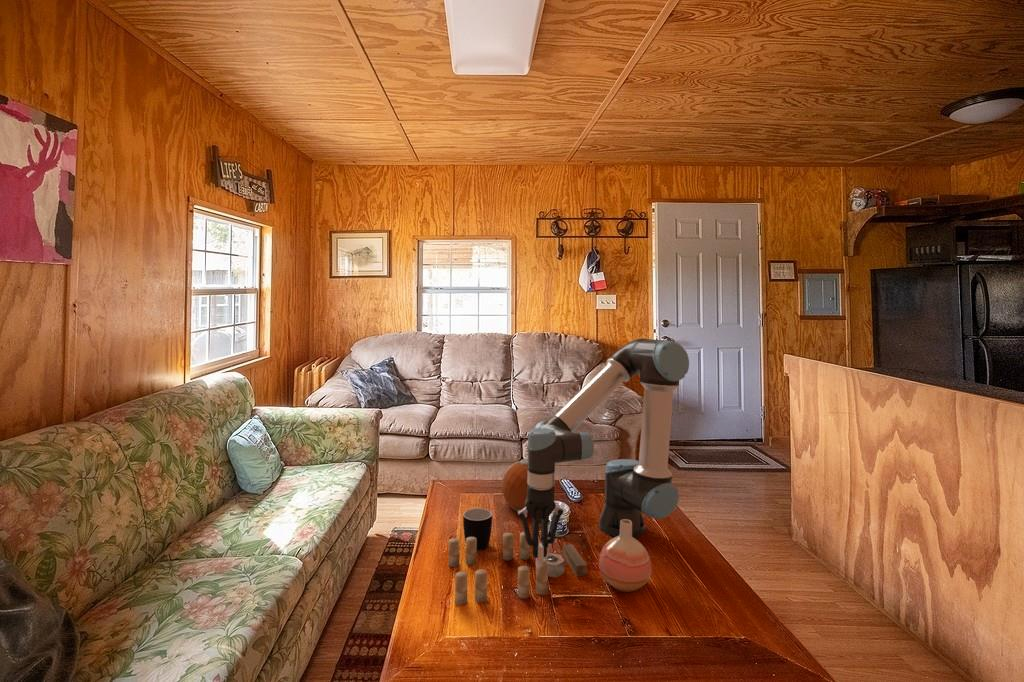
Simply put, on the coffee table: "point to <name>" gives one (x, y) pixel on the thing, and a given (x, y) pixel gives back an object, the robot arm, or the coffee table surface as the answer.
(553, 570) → the nut
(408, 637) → the coffee table surface
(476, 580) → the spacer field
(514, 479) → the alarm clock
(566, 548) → the rail
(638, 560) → the vase
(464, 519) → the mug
